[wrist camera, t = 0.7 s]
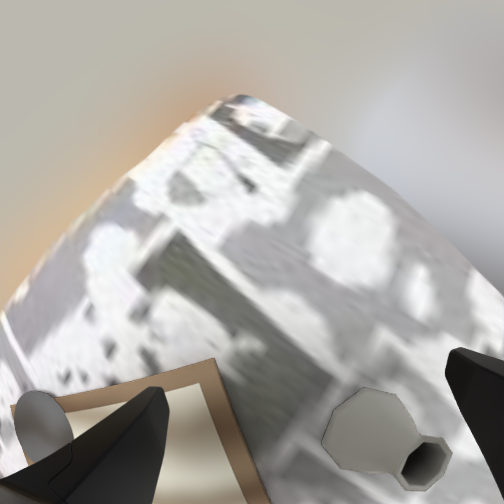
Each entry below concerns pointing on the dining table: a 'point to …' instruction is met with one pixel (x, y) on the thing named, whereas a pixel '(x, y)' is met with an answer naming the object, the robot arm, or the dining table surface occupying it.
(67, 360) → the dining table surface
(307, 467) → the dining table surface
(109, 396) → the beige tray
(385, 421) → the flask
